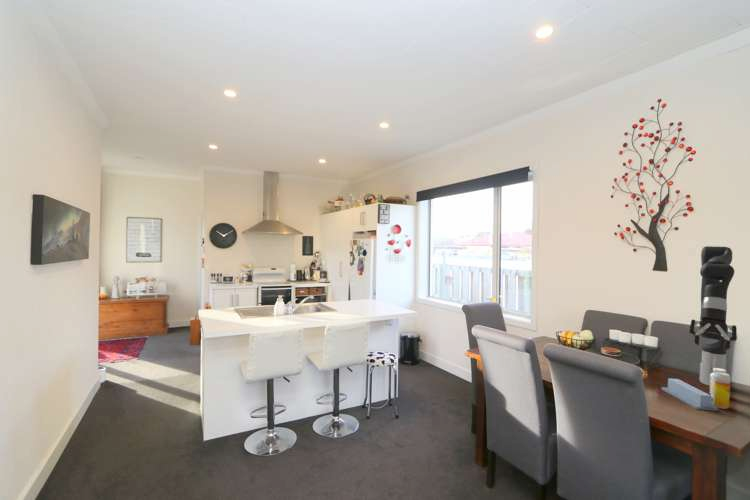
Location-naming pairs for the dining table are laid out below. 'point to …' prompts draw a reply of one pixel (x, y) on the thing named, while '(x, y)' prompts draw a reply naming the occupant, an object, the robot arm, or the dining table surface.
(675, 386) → the rail
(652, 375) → the dining table surface
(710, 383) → the supplement bottle
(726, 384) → the beer can
